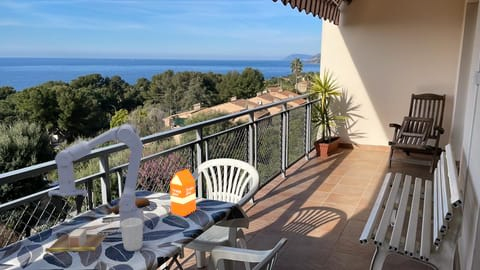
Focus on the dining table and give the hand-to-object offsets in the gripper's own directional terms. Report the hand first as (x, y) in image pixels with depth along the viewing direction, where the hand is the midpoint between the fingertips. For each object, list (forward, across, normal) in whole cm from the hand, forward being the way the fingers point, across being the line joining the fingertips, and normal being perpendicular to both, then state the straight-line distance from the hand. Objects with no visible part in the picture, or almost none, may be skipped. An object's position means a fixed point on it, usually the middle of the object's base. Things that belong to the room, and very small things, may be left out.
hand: (69, 213), depth 149 cm
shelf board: (+9, +6, -8) cm, 14 cm away
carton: (+9, +7, -10) cm, 15 cm away
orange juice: (+10, +42, +24) cm, 49 cm away
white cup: (+10, +28, -11) cm, 32 cm away
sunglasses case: (+10, +15, +30) cm, 35 cm away
